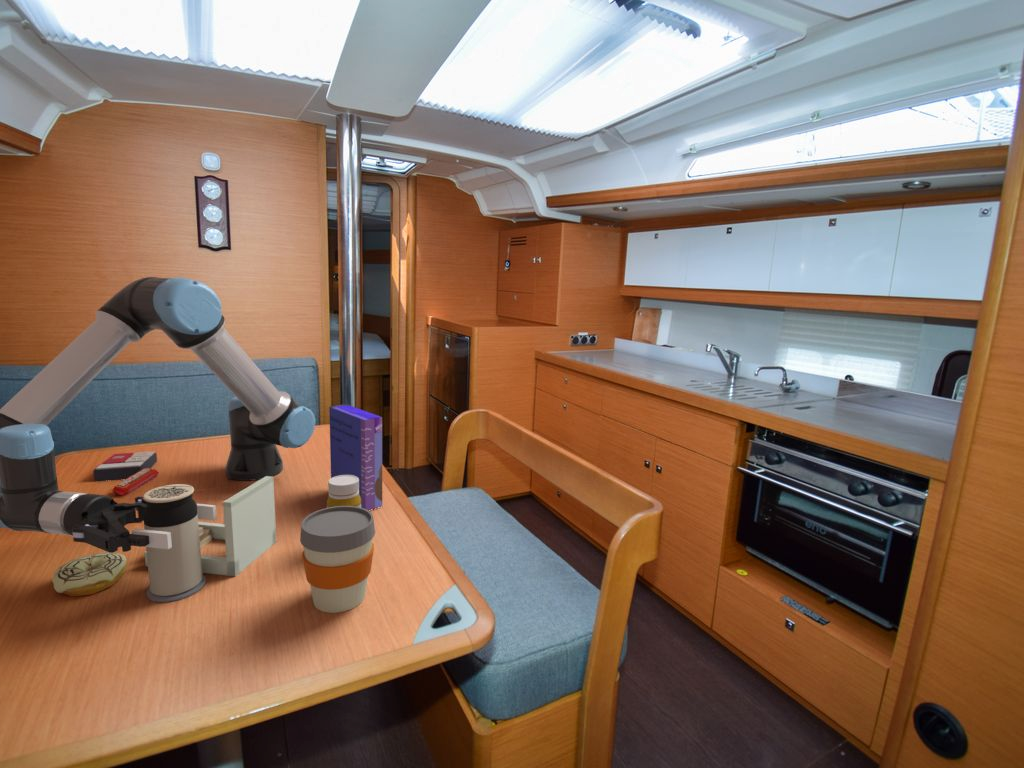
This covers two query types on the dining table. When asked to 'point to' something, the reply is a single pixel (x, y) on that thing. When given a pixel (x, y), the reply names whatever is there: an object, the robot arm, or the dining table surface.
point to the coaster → (178, 596)
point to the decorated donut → (89, 574)
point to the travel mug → (173, 539)
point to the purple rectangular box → (357, 450)
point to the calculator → (124, 465)
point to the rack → (242, 529)
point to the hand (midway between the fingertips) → (193, 526)
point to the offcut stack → (204, 536)
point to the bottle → (344, 491)
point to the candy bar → (135, 481)
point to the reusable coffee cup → (338, 556)
